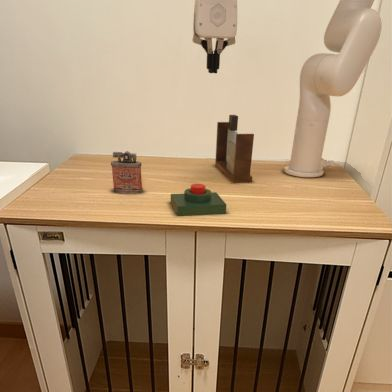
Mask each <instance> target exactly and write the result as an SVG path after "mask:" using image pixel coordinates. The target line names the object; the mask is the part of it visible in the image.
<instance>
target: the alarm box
mask: <svg viewBox="0 0 392 392" xmlns="http://www.w3.org/2000/svg"><path fill="white" fill-rule="evenodd" d="M170 204H171V206H172V208H173V210H174V212H175V213H176V216H178V217H181V216H197V215H218V214H220V215H223V214H227V203H226V202H225V201H224V200H223V198H222V197H221V196H220V195H219V194H218V193H217V192H215V191H214V192H213V191H211V189H209V188H205V193H204V194H193V193H191V187H190V188H186V189H185V190H184V192H183V193H170Z"/></svg>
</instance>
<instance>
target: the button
mask: <svg viewBox="0 0 392 392" xmlns="http://www.w3.org/2000/svg"><path fill="white" fill-rule="evenodd" d="M190 188H191V193H193V194H204V193H205V189H206V185H205V184H203V183H193V184H190Z"/></svg>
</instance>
